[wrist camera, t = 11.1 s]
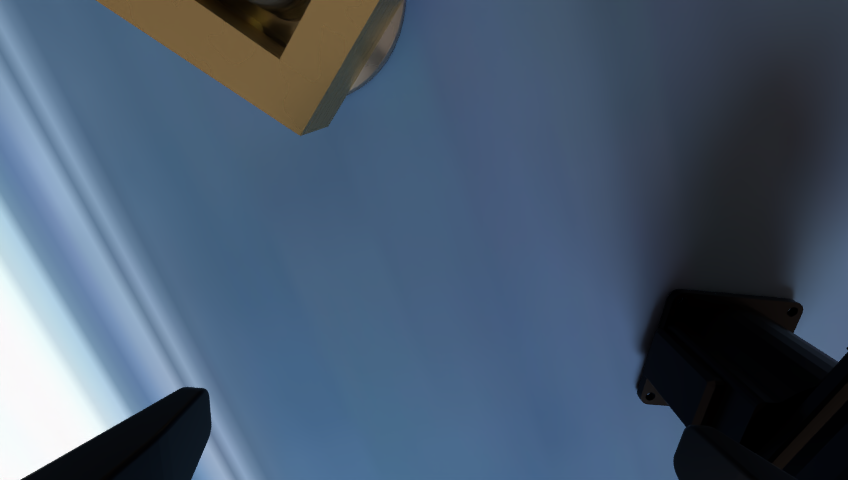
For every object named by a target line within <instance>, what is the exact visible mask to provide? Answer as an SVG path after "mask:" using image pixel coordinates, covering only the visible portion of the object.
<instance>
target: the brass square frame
mask: <svg viewBox="0 0 848 480" xmlns="http://www.w3.org/2000/svg"><path fill="white" fill-rule="evenodd" d="M96 1H98V2H99V3H101V4H102V5H104V6H105V7H107V8H108V9H110V10H111V11H113V12H114V13H116V14H117V15H119V16H120V17H122V18H123V19H125V20H126V21H128V22H129V23H131V24H132V25H134V26H135V27H137V28H138V29H140V30H142V31H143V32H145V33H146V34H148V35H149V36H151V37H152V38H154V39H155V40H157V41H158V42H160V43H161V44H163V45H164V46H166V47H167V48H169V49H170V50H172V51H173V52H175V53H176V54H178V55H179V56H181V57H182V58H184V59H185V60H187V61H188V62H190V63H191V64H193V65H194V66H196V67H197V68H199V69H200V70H202V71H203V72H205V73H206V74H208V75H209V76H211V77H212V78H214V79H215V80H217V81H218V82H220V83H221V84H223V85H224V86H226V87H227V88H229V89H230V90H232V91H233V92H235V93H236V94H238V95H239V96H241V97H243V98H244V99H246V100H247V101H249V102H250V103H252V104H253V105H255V106H256V107H258V108H259V109H261V110H262V111H264V112H265V113H267V114H268V115H270V116H271V117H273V118H274V119H276V120H277V121H279V122H280V123H282V124H283V125H285V126H286V127H288V128H289V129H291V130H292V131H294V132H295V133H297V134H298V135H300V136H302V135H304V134H307V133H310V132H313V131H316V130H319V129H322V128H325V127H328V126H329V124H330V122H331V121H332V119H333V117H334V116H335V114H336V112H337V111H338V109H339V107H340V106H341V104H342V102H343V101H344V99H345V97H346V96H347V94H348V92H349V91H350V89H351V87H352V86H353V84H354V82H355V81H356V79H357V77H358V76H359V74H360V72H361V71H362V69H363V67H364V66H365V64H366V62H367V61H368V59H369V57H370V56H371V54H372V52H373V51H374V49H375V47H376V46H377V44H378V42H379V41H380V39H381V37H382V35H383V34H384V32H385V30H386V29H387V27H388V25H389V24H390V22H391V20H392V19H393V17H394V15H395V14H396V12H397V10H398V9H399V7H400V5H401V4H402V2H403V0H311V2H310V4H309V5H308V7H307V9H306V11H305V13H304V15H303V17H302V18H301V20H300V22H299V24H298V26H297V28H296V30H295V32H294V33H293V35H292V37H291V39H290V41H289V43H288V45H287V46H286V48H284V47H283V46H281V45H280V44H278V43H277V42H276V41H274V40H273V39H271V38H270V37H269V36H267V35H266V34H264V33H263V32H261V31H260V30H259V29H257V28H256V27H254V26H253V25H251V24H250V23H249V22H247V21H246V20H244V19H243V18H242V17H240V16H239V15H237V14H236V13H234V12H233V11H232V10H230V9H229V8H227V7H226V6H225V5H223V4H222V3H220V2H219V1H217V0H96Z"/></svg>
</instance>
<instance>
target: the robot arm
mask: <svg viewBox="0 0 848 480" xmlns="http://www.w3.org/2000/svg"><path fill="white" fill-rule="evenodd" d="M680 298H683V299H682V301H681V302H679V303H677V301H678V300H679V299H680ZM790 308H791V309H790ZM789 309H790V310H789ZM788 310H789V311H788ZM787 311H788V312H787ZM802 313H803V306H802V305H801V304H800V303H798V302H796V301H794V300H792V299H786V298H774V297H763V296H752V295H741V294H729V293H718V292H707V291H696V290H684V289H677V290H674V291H672V292H671V293H670V294H669V296H668V298H667V301H666V304H665V307H664V310H663V313H662V316H661V319H660V323H659V326H658V329H657V331H656V333H655V335H654V338H653V341H652V345H651V348H650V351H649V354H648V357H647V360H646V363H645V366H644V369H643V375H642V378H641V381H640V384H639V387H638V390H637V395H638V397H639V398H640V399H641V401H642V402H643V403H645V404H651V405H664V406H670V408H671V409H672V410H673V411H674V413H675V414H676V415H677V416H678V417H679V419H680V420H681V421H682V422H683V424H684V425H685V426H686V428H685V429H684V431H683V434H682V437H681V439H680V442H679V444H678V447H677V450H676V452H675V455H674V461H673V462H674V469H675V472H676V474H677V477H678V479H679V480H848V352H847V353H846V354H845V356H844V357H843V358H842V359H841V360H840V361H839V362H838V361H836V360H835V359H833V358H831V357H830V356H828V355H827V354H825V353H824V352H822V351H820V350H819V349H817V348H816V347H814V346H813V345H811V344H809V343H808V342H806V341H805V340H803V339H801V338H800V337H798V336H797V335H795V334H794V330H795V328H796V326H797V324H798V322H799V319H800V317H801V315H802ZM846 349H847V350H848V347H847V348H846ZM648 393H650V394H649V395H647V394H648ZM210 432H211V412H210V400H209V393H208V391H207V390H206V389H204V388H194V387H183V388H181V389H179V390H177V391H175V392H173V393H171V394H170V395H168V396H166V397H164V398H163V399H161V400H159V401H157V402H156V403H154V404H152V405H150V406H149V407H147V408H145V409H143V410H142V411H140V412H138V413H136V414H135V415H133V416H131V417H129V418H128V419H126V420H124V421H122V422H121V423H119V424H117V425H115V426H114V427H112V428H110V429H108V430H107V431H105V432H103V433H101V434H100V435H98V436H96V437H94V438H93V439H91V440H89V441H87V442H86V443H84V444H82V445H80V446H79V447H77V448H75V449H73V450H72V451H70V452H68V453H66V454H65V455H63V456H61V457H59V458H58V459H56V460H54V461H52V462H51V463H49V464H47V465H45V466H44V467H42V468H40V469H38V470H37V471H35V472H33V473H31V474H30V475H28V476H26V477H24V478H23V479H21V480H191V479H192V476H193V474H194V472H195V469H196V467H197V465H198V462H199V460H200V458H201V455H202V453H203V451H204V448H205V446H206V443H207V441H208V439H209V436H210Z"/></svg>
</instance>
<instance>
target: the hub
mask: <svg viewBox="0 0 848 480" xmlns="http://www.w3.org/2000/svg"><path fill="white" fill-rule="evenodd" d="M217 1H219V2H220V3H222V4H223V5H225V6H226V7H227V8H229V9H230V10H232V11H233V12H234V13H236V14H237V15H239V16H240V17H242V18H243V19H244V20H246V21H247V22H249V23H250V24H251V25H253V26H254V27H256V28H257V29H259V30H260V31H261V32H263V33H264V34H266V35H267V36H269V37H270V38H271V39H273V40H274V41H276V42H277V43H278V44H280V45H281V46H283V47H284V48H286V46H287V45H288V43H289V41H290V39H291V37H292V35H293V33H294V32H295V30H296V28H297V26H298V24H299V22H300V20H301V18H302V17H303V15H304V13H305V11H306V9H307V7H308V5H309V4H310V2H311V0H217ZM405 7H406V0H403V2H402V4H401V5H400V7H399V9H398V10H397V12H396V14H395V15H394V17H393V19H392V20H391V22H390V24H389V25H388V27H387V29H386V30H385V32H384V34H383V35H382V37H381V39H380V41H379V42H378V44H377V46H376V47H375V49H374V51H373V52H372V54H371V56H370V57H369V59H368V61H367V62H366V64H365V66H364V67H363V69H362V71H361V72H360V74H359V76H358V77H357V79H356V81H355V82H354V84H353V86H352V87H351V89H350V91H349V92H348V94H347V95H349V94H351V93H353V92H355V91H356V90H358V89H360V88H361V87H363V86H364V85H365V84H367V83H368V82H369V81H370V80H372V79H373V77H374V76H375V75H376V74H377V73H378V72H379V71H380V70H381V69H382V67H383V66H384V65H385V63H386V62H387V61H388V59H389V57H390V56H391V54H392V52H393V50H394V48H395V46H396V43H397V41H398V38H399V36H400V33H401V29H402V25H403V21H404V15H405Z"/></svg>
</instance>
